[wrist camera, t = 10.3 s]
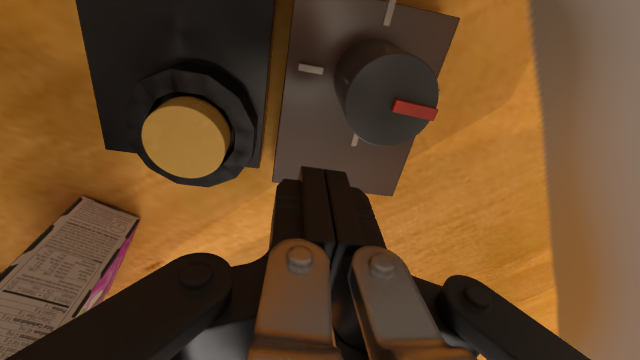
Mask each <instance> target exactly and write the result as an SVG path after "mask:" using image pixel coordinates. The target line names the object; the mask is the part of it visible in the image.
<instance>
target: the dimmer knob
mask: <svg viewBox="0 0 640 360" xmlns="http://www.w3.org/2000/svg"><path fill="white" fill-rule="evenodd" d="M334 87H335V92H336V95H337V98H338V100H339V103H340V105H341V108H342V110H343V113H344V115H345V118H346V120H347V123H348V125H349V127H350V128H351V130H352V131H353V132H354V133H355V135H356V136H358V137H359V138H360V139H361V140H363V141H365V142H367V143H369V144H372V145H376V146H393V145H398V144H401V143H404V142H406V141H408V140H410V139H411V138H413V137H415V136H416V135H417V134H418V133H420V132H421V131H422V130H423V129H424V128H425V126H426V125H427V124H428V123H429V121H430V120H431V121H434V119H435V116H436V114H437V112H438V109H436V106H437V102H438V83H437V79H436V76H435V74H434V72H433V71H432V69H431V68H430V66H429V65H428V64H427V63H426V62H425V61H423V60H422V59H420V58H419V57H417V56H415V55H413V54H411V53H409V52H407V51H405V50H403V49H402V48H400V47H398V46H396V45H394V44H392V43H390V42H388V41H385V40H381V39H370V40H365V41H362V42H360V43H358V44H356V45H354V46H353V47H351V48H350V49H349V50H348V51H347V52H346V53H345V54H344V55H343V57H342V58H341V60H340V61H339V63H338V65H337V68H336V71H335V76H334Z"/></svg>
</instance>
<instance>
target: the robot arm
mask: <svg viewBox="0 0 640 360" xmlns="http://www.w3.org/2000/svg"><path fill="white" fill-rule="evenodd" d="M331 313H332V314H331ZM479 354H481V355H483V356H484V357H485V358H486V359H487V360H590V359H589V358H587V357H586V356H584V355H583V354H582V353H580V352H579V351H578V350H576V349H575V348H573V347H572V346H570V345H569V344H568V343H566V342H565V341H563V340H562V339H561V338H559V337H558V336H556V335H555V334H554V333H552V332H551V331H549V330H548V329H547V328H545V327H544V326H542V325H541V324H540V323H538V322H537V321H535V320H534V319H532V318H531V317H530V316H528V315H527V314H525V313H524V312H523V311H521V310H520V309H518V308H517V307H516V306H514V305H513V304H511V303H510V302H508V301H507V300H506V299H504V298H503V297H501V296H500V295H499V294H497V293H496V292H494V291H493V290H492V289H490V288H489V287H487V286H486V285H484V284H483V283H481V282H479V281H478V280H476V279H473V278H471V277H467V276H463V275H454V276H451V277H449V278H448V279H447V280H446V281H445V283H444V285H443V286H440V285H437V284H434V283H431V282H428V281H425V280H422V279H420V278H417V277H415V276H412V275H411V274H410V272H409V270H408V268H407V266H406V264H405V263H404V262H403V260H402V259H401V258H400V257H399V256H397V255H396V254H395V253H393V252H391V251H389V250H387V248H386V245H385V243H384V240H383V237H382V234H381V232H380V229H379V226H378V223H377V221H376V219H375V215H374V213H373V210H372V207H371V204H370V202H369V199H368V197H367V196H366V195H365V194H364V193H363V192H362V191H361V190H360V189H359V188H355V187H350V184H349V181H348V177H347V174H346V172H344V171H336V170H329V169H324V170H323V169H321V168H314V167H307V166H301V168H300V172H299V177H298V180H293V179H285V178H284V179H283V180H282V181H281V182H280V183H279V185H278V186H277V189H276V196H275V203H274V209H273V216H272V223H271V233H270V243H269V250H268V252H267V253H266V254H265V255H264V256H263V257H261V258H260V259H258V260H256V261H254V262H251V263H248V264H244V265H238V266H233V267H231V266H230V265H229V264H228V262H227V261H225V260H224V259H223V258H221V257H219V256H217V255H214V254H210V253H192V254H187V255H184V256H181V257H179V258H177V259H175V260H173V261H171V262H170V263H168V264H166V265H165V266H163V267H161V268H160V269H158V270H156V271H154V272H153V273H151V274H149V275H148V276H146V277H144V278H143V279H141V280H139V281H137V282H136V283H134V284H132V285H131V286H129V287H127V288H125V289H124V290H122V291H120V292H119V293H117V294H115V295H114V296H112V297H110V298H108V299H107V300H105V301H103V302H102V303H100V304H98V305H97V306H95V307H93V308H91V309H90V310H88V311H86V312H85V313H83V314H81V315H80V316H78V317H76V318H74V319H73V320H71V321H69V322H68V323H66V324H64V325H62V326H61V327H59V328H57V329H56V330H54V331H52V332H51V333H49V334H47V335H45V336H44V337H42V338H40V339H39V340H37V341H35V342H34V343H32V344H30V345H28V346H27V347H25V348H23V349H22V350H20V351H18V352H16V353H15V354H13V355H11V356H10V357H8V358H6V359H5V360H477V356H478V355H479Z"/></svg>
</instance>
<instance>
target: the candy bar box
mask: <svg viewBox="0 0 640 360" xmlns="http://www.w3.org/2000/svg"><path fill="white" fill-rule="evenodd" d="M139 221H140V218H139V217H137V216H135V215H133V214H131V213H128V212H126V211H122V210H119V209H116V208H114V207H111V206H108V205H105V204H103V203H101V202H98V201H96V200H93V199H90V198H87V197H85V196H81V197H80V198H79V199H78V200H77V201H76V202H75V203H74V204H73V205H72V206H71V207H70V208H69V209H67V210H66V211H65V212H64V213H63V214H62V215H61V216H60V217H59V218H58V219H57V220H56V221H55V222H54V223H53V224H52V225H51V226H50V227H49V228H48V229H47V230H46V231H45V232H44V233H43V234H41V235H40V236H39V237H38V238H37V239H36V240H35V241H34V242H33V243H32V244H31V245H30V246H29V247H28V248H27V249H26V250H25V251H24V252H23V253H22V254H21V255H20V256H19V257H18V258H17V259H16V260H15V261H14V262H13V263H12V264H11V265H10V266H9V267H8V268H7V269H6V270H5V271H4V272H3V273H2V274H1V275H0V360H5V359H6V358H8V357H10V356H11V355H13V354H15V353H16V352H18V351H20V350H22V349H23V348H25V347H27V346H28V345H30V344H32V343H34V342H35V341H37V340H39V339H40V338H42V337H44V336H45V335H47V334H49V333H51V332H52V331H54V330H56V329H57V328H59V327H61V326H62V325H64V324H66V323H68V322H69V321H71V320H73V319H74V318H76V317H78V316H80V315H81V314H83V313H85V312H86V311H88V310H90V309H91V308H93V307H95V306H97V305H98V304H100V303H102V301H103V300H104V298H105V296H106V295H107V293H108V292H109V289H110V287H111V285H112V283H113V280H114V278H115V276H116V273H117V271H118V269H119V267H120V264H121V262H122V260H123V258H124V255H125V253H126V251H127V249H128V246H129V244H130V242H131V239H132V237H133V235H134V232H135V230H136V228H137V225H138V223H139Z"/></svg>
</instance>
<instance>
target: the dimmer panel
mask: <svg viewBox="0 0 640 360" xmlns="http://www.w3.org/2000/svg"><path fill="white" fill-rule="evenodd" d="M459 20H460V18H459V17H454V16H450V15H445V14H441V13H437V12H432V11H428V10H423V9H419V8H415V7H410V6H406V5H401V4H397V3H396V0H389V2H388V1H384V0H294V7H293V15H292V23H291V31H290V39H289V47H288V56H287V64H286V72H285V80H284V88H283V96H282V104H281V112H280V120H279V128H278V137H277V145H276V153H275V161H274V169H273V177H272V182H275V183H280V182H281V181H282V180H283V179H284V178H285V179H293V180H298V177H299V172H300V168H301V166H307V167H314V168H321V169H323V170H324V169H329V170H336V171H344V172H346V174H347V177H348V181H349V184H350V187H355V188H359V189H360V190H361V191H362V192H363V193H367V194H376V195H384V196H393V194H394V191H395V188H396V186H397V183H398V180H399V178H400V175H401V173H402V170H403V167H404V165H405V162H406V159H407V157H408V154H409V152H410V149H411V146H412V144H413V141H414V138H415V137H413V138H411V139H410V140H408V141H406V142H404V143H401V144H398V145H393V146H376V145H372V144H369V143H367V142H365V141H363V140H361V139H360V138H359V137H358V136H356V135H355V133H354V132H353V131H352V130H351V128H350V127H349V125H348V123H347V120H346V118H345V115H344V113H343V110H342V108H341V105H340V103H339V100H338V98H337V95H336V92H335V87H334V76H335V71H336V68H337V65H338V63H339V61H340V60H341V58H342V57H343V55H344V54H345V53H346V52H347V51H348V50H349V49H350V48H351V47H353V46H354V45H356V44H358V43H360V42H362V41H365V40H370V39H381V40H385V41H388V42H390V43H392V44H394V45H396V46H398V47H400V48H402V49H403V50H405V51H407V52H409V53H411V54H413V55H415V56H417V57H419V58H420V59H422V60H423V61H425V62H426V63H427V64H428V65H429V66H430V68H431V69H432V71H433V72H434V74H435V76H436V79H437V78H438V75H439V73H440V70H441V68H442V65H443V62H444V60H445V57H446V54H447V52H448V49H449V47H450V44H451V41H452V39H453V36H454V33H455V31H456V28H457V26H458V23H459ZM439 90H440V89H438V93H439Z"/></svg>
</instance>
